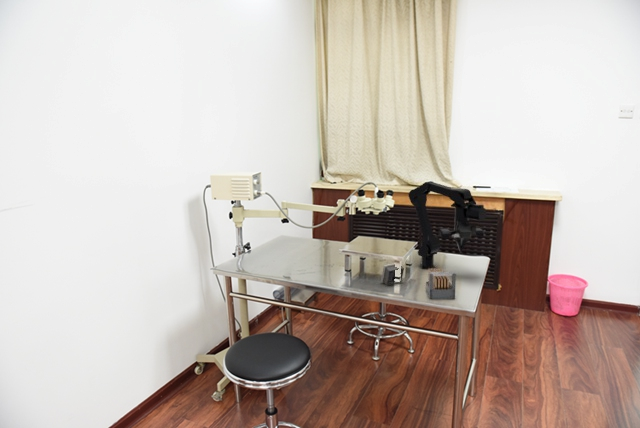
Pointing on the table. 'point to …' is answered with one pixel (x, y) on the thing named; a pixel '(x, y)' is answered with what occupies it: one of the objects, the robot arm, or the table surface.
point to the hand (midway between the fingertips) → (460, 251)
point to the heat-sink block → (439, 280)
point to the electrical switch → (390, 273)
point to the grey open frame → (441, 292)
